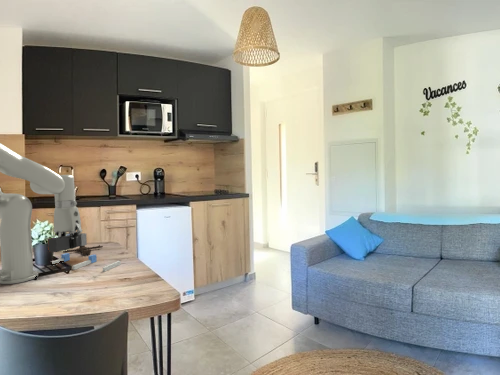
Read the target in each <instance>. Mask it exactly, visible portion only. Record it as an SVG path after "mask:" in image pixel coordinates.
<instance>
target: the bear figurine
mask: <svg viewBox="0 0 500 375" xmlns="http://www.w3.org/2000/svg"><path fill="white" fill-rule="evenodd" d="M103 247H104V246H103V245H100V244H99V245H97V246H90V247H89V246H86V245H84V246H79V247H76V248H73V249H67V251H66V250H63V251H62V253H63V254H65V253H73V252H80V253H81V254H82V256H83V257H85V256H90V255H91V252H92V251H91V250H94V249H95V250H96V249H100V248H101V249H102V248H103Z"/></svg>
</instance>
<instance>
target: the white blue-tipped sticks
mask: <svg viewBox="0 0 500 375" xmlns="http://www.w3.org/2000/svg"><path fill="white" fill-rule="evenodd" d="M60 256H61V258H59V259H56V260H53V261H51V262H52V264H55V263H59V262H60V261H64V262H63V263H65V262H68V261H70V258H71V257H70V252H67V253H63V254H61V255H60ZM87 256H88V259H87V260H84V261H83V262H82V261H81V262H79V263H76V264H74V265H72V270H73V271H74V270H77V269H80V268H83V267H86V266H87V265H90V264H93V263H96V262H97V254H90V255H87ZM59 264H60V263H59ZM121 264H122V263H121V260H117V261H115V262H113V263H110V264H108V265H105V266H104V267H102V272H107V271H110V270H111V269H114V268H116V267H118V266H120V265H121Z"/></svg>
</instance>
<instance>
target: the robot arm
mask: <svg viewBox="0 0 500 375" xmlns="http://www.w3.org/2000/svg"><path fill="white" fill-rule="evenodd" d="M0 173H1V174H3V175H6V176H8V177H12V178H16V179H21V180H25V181H28V182H29V186H30V187H29V188H30V189H31V190H32V191H33V193H36V194H38V195H54V205H55V206H54V207H55V208H54V210H53V229H54V232H55V234H56V235H55V236H56V237H62V236H67V235H66V234H67V233H68V235H70V238H71V239H69V241H70V249H69V250H74V249H77V248H78V247H77V243H76V238H77V237H78V235H79V234H80V233H83V229H82V221H81V215H80V214H81V213H80V211H79V208H78V207H77V205H78V202H77V201H76V189H75V177H74V176H73V175H72V174H58V173H56V172H55V171H53V170H51V169H50V168H48V167H47V166H45V165H42V164H41V163H38V162H36V161H34V160H32V159H30V158H27V157H25V156H22V155H21V154H19V153H17V152H15V151H14V150H12V149H11V148H9V147H7V146H5V145H4V143H3V144H2V143H1V142H0ZM32 214H33V204H32V202H31V200H30V199H29V198H28V197H27V196H26V195H23V194H20V193H5V192H3V191H2V189H1V188H0V261H1V269H0V284H1V285H12V284H20V283H25V282H30V281H32V280H34V279H36V278H37V277H39V272H38V271H36V270H34V261H33V245H32V243H33V242H32V228H31V225H32V224H31V223H32ZM54 232H53V233H54ZM36 276H37V277H36ZM35 277H36V278H35Z"/></svg>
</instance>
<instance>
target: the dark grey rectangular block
mask: <svg viewBox="0 0 500 375" xmlns="http://www.w3.org/2000/svg"><path fill="white" fill-rule="evenodd" d="M87 238H88V237H87V233H83V232H81V233H80V234H79V235H78V237H77V238H76V243H77V247H76V248H79V247H80V246H84V245H85V246H87V244H88V243H87V240H88V239H87ZM69 239H71V238H70V234H67V235H66V236H62V237H58V236H56V238H52V239H48V246H47V248H48V250H49V252H48V253H59V252H63V251H66V250H71V249H70V241H69Z"/></svg>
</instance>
